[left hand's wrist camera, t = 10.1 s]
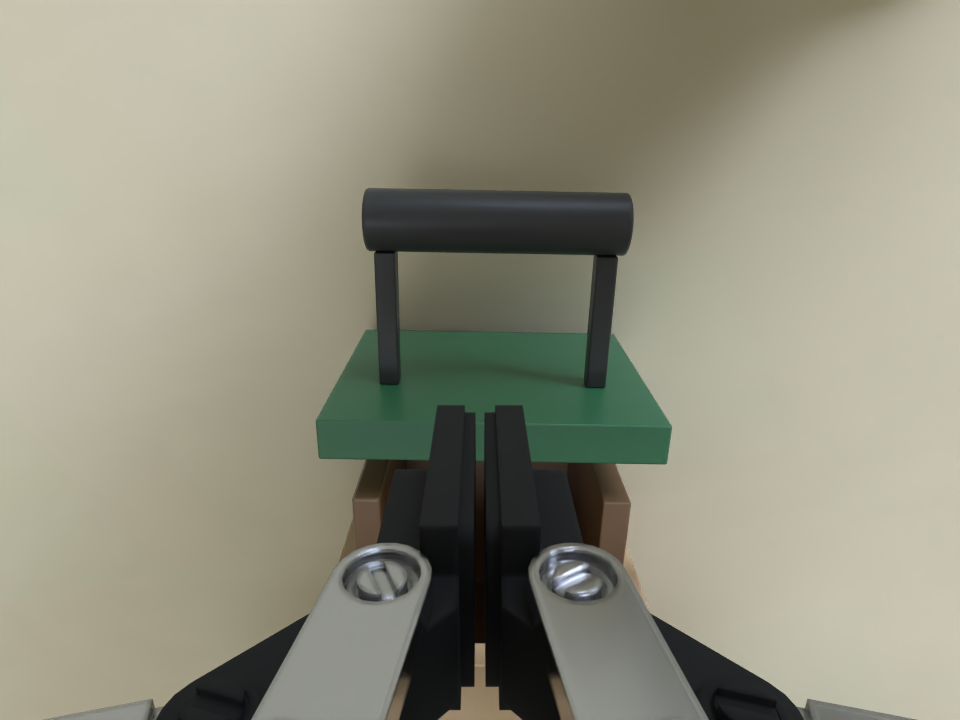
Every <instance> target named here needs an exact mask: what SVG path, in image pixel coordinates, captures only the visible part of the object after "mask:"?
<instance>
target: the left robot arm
mask: <svg viewBox="0 0 960 720" xmlns="http://www.w3.org/2000/svg"><path fill="white" fill-rule="evenodd" d="M475 587H476V412H465V405H437V410H436V417H435V424H434V430H433V437H432V444H431V450H430V457H429V463H428V469H396V470H395V472H394V475H393V479H392V483H391V487H390V491H389V495H388V499H387V503H386V507H385V511H384V515H383V519H382V523H381V528H380V532H379V536H378V540H377V544H373V545H368V546H365V547H363V548H360V549H358V550H355V551H353V552H352V553H350V554H349V555H347V556H346V557H345V558H343V559H342V560H341V561H340V562H339V564H338V565H337V566H336V567H335V569H334V571H333V572H332V574H331V576H330V578H329V580H328V581H327V583H326V585H325V587H324V589H323V590H322V592H321V594H320V596H319V598H318V599H317V601H316V603H315V605H314V607H313V609H312V610H311V612H310V614H308V615H306V616H305V617H303V618H301V619H300V620H298V621H296V622H294V623H293V624H291V625H289V626H288V627H286V628H284V629H282V630H281V631H279V632H277V633H276V634H274V635H272V636H270V637H269V638H267V639H265V640H264V641H262V642H260V643H258V644H257V645H255V646H253V647H252V648H250V649H248V650H246V651H245V652H243V653H241V654H240V655H238V656H236V657H234V658H233V659H231V660H229V661H228V662H226V663H224V664H223V665H221V666H219V667H217V668H216V669H214V670H212V671H211V672H209V673H207V674H205V675H204V676H202V677H200V678H199V679H197V680H195V681H193V682H192V683H190V684H189V685H188V686H186V687H185V688H183V689H182V690H181V691H179V692H178V693H176V694H175V695H174V696H173V697H172V698H171V699H170V701H169V702H168V703H167V704H166V705H165V706H164V707H160V708H155V707H154V703H153V699H149V700H144V701H139V702H134V703H128V704H123V705H118V706H113V707H107V708H102V709H97V710H92V711H86V712H81V713H76V714H71V715H66V716H60V717H55V718H50V719H45V720H438V719H439V718H441V717H442V716H443V715H444V714H445V713H447V712H448V711H449V710H461V687H474V686H475ZM484 587H485V686H486V687H499V710H511V711H512V712H513V713H515V714H516V715H517V716H518V717H519V718H521V719H522V720H915V719H910V718H905V717H900V716H894V715H889V714H884V713H879V712H874V711H868V710H863V709H858V708H853V707H847V706H842V705H837V704H832V703H826V702H821V701H816V700H811V699H807V703H806V707H805V708H800V707H796V706H795V705H794V704H793V703H792V702H791V701H790V699H789V698H788V697H787V696H786V695H785V694H784V693H782V692H781V691H779V690H778V689H777V688H775V687H774V686H772V685H771V684H770V683H768V682H767V681H765V680H763V679H761V678H760V677H758V676H756V675H755V674H753V673H751V672H749V671H748V670H746V669H744V668H743V667H741V666H739V665H737V664H736V663H734V662H732V661H731V660H729V659H727V658H726V657H724V656H722V655H720V654H719V653H717V652H715V651H714V650H712V649H710V648H708V647H707V646H705V645H703V644H702V643H700V642H698V641H696V640H695V639H693V638H691V637H690V636H688V635H686V634H684V633H683V632H681V631H679V630H678V629H676V628H674V627H672V626H671V625H669V624H667V623H666V622H664V621H662V620H660V619H659V618H657V617H655V616H654V615H652V614H650V612H649V610H648V609H647V607H646V605H645V603H644V601H643V599H642V598H641V596H640V594H639V592H638V590H637V589H636V587H635V585H634V583H633V581H632V580H631V578H630V576H629V574H628V572H627V571H626V569H625V567H624V566H623V565H622V564H621V562H620V561H619V560H618V559H617V558H615V557H614V556H613V555H611V554H610V553H608V552H607V551H605V550H602V549H600V548H597V547H595V546H592V545H587V544H583V540H582V536H581V532H580V528H579V523H578V519H577V515H576V511H575V507H574V503H573V499H572V495H571V491H570V487H569V483H568V479H567V475H566V472H565V470H564V469H532V463H531V457H530V450H529V444H528V437H527V430H526V424H525V417H524V410H523V405H495V412H484Z"/></svg>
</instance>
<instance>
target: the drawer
mask: <svg viewBox="0 0 960 720" xmlns="http://www.w3.org/2000/svg"><path fill="white" fill-rule="evenodd" d="M362 230H363V238H364V243H365V246H366V248H367V250H369V251H376V252H375V253H374V264H375V288H376V312H377V330H366V331H365V333H364V335H363V337H362V338H361V340H360V342H359V344H358V346H357V347H356V349H355V351H354V353H353V355H352V356H351V358H350V360H349V362H348V364H347V365H346V367H345V369H344V371H343V373H342V374H341V376H340V378H339V380H338V382H337V383H336V385H335V387H334V389H333V391H332V393H331V394H330V396H329V398H328V400H327V402H326V403H325V405H324V407H323V409H322V411H321V412H320V414H319V416H318V418H317V420H316V429H317V441H318V454H319V458H320V459H366V461H365V464H364V467H363V470H362V473H361V476H360V479H359V482H358V485H357V487H356V490H355V493H354V496H353V499H352V501H353V517H354V533H355V549H356V550H358V549H360V548H363V547H365V546H368V545H373V544H377V540H378V536H379V532H380V528H381V523H382V519H383V515H384V511H385V507H386V503H387V499H388V495H389V491H390V487H391V483H392V479H393V475H394V472H395V470H396V469H428V463H429V457H430V450H431V444H432V437H433V430H434V424H435V417H436V410H437V405H465V412H476V587H475V643H485V587H484V412H495V405H523V410H524V417H525V424H526V430H527V437H528V444H529V450H530V457H531V463H532V469H564V470H565V472H566V475H567V479H568V483H569V487H570V491H571V495H572V499H573V503H574V507H575V511H576V515H577V519H578V523H579V528H580V532H581V536H582V540H583V544H587V545H592V546H595V547H597V548H600V549H602V550H605V551H607V552H608V553H610V554H611V555H613V556H614V557H615V558H617V559H618V560H619V561H620V562H621V564H622V565H624V557H625V548H626V540H627V532H628V524H629V515H630V507H631V502H630V500H629V497H628V495H627V492H626V490H625V487H624V485H623V482H622V480H621V477H620V475H619V472H618V470H617V467H616V465H615V464H666V463H667V459H668V452H669V445H670V438H671V431H672V426H671V424H670V423H669V421H668V419H667V418H666V416H665V415H664V413H663V411H662V410H661V408H660V407H659V405H658V404H657V402H656V400H655V399H654V397H653V396H652V394H651V393H650V391H649V389H648V388H647V386H646V385H645V383H644V381H643V380H642V378H641V377H640V375H639V374H638V372H637V370H636V369H635V367H634V366H633V364H632V362H631V361H630V359H629V358H628V356H627V355H626V353H625V351H624V350H623V348H622V347H621V345H620V343H619V342H618V340H617V339H616V337H615V336H614V335H613V334H611V326H612V315H613V305H614V295H615V284H616V274H617V264H618V257H617V256H616V255H619V256H623V255H625V254H626V253H627V251H628V249H629V246H630V243H631V238H632V232H633V203H632V199H631V196H630V195H629V194H627V193H596V192H544V191H492V190H439V189H387V188H368V189H366V190H365V193H364V196H363V203H362ZM397 251H402V252H456V253H510V254H565V255H594V261H593V273H592V285H591V297H590V309H589V321H588V333H587V334H572V333H516V332H459V331H403V330H400V322H399V287H398V252H397Z"/></svg>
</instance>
